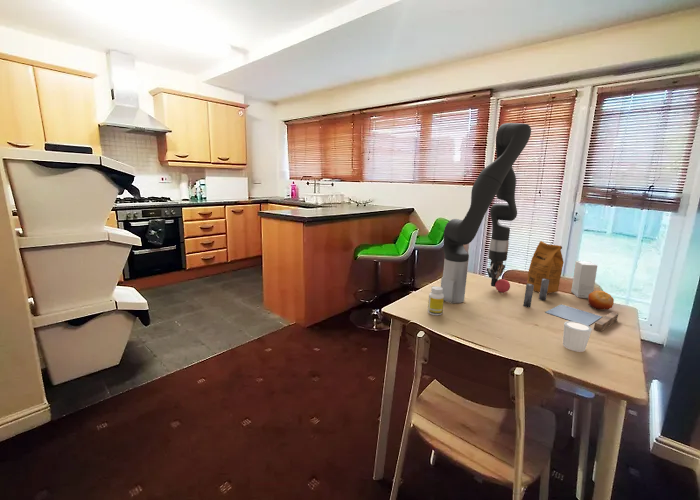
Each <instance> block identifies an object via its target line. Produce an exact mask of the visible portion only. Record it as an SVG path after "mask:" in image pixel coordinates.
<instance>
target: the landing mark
mask: <svg viewBox="0 0 700 500" xmlns="http://www.w3.org/2000/svg"><path fill="white" fill-rule="evenodd" d="M544 312H545V314H548V315H551V316H555V317H557V318H561V319H564V320H566V321H574V322H579V323H583V324H585V325H587V326H589V327H590V326H591V325H592V324H595V322H597V321H598V320H600V319H601V318H603V316H601V315H599V314H595V313H593V312H588V311H584V310H583V309H579V308H576V307H572V306H568V305H565V304H562V303H561V304H559V305H556V306H554V307H553V308H550V309H548V310H546V311H544Z"/></svg>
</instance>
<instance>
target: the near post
mask: <svg viewBox="0 0 700 500" xmlns="http://www.w3.org/2000/svg"><path fill="white" fill-rule="evenodd" d="M533 289H534V285H533V284H527V283H526V285H525V293H524V298H523V304H522V306H523V307H525V308H531V306H532V302H533V301H532V300H533V295H534V294H533V293H534V290H533Z"/></svg>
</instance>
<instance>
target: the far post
mask: <svg viewBox="0 0 700 500" xmlns="http://www.w3.org/2000/svg"><path fill="white" fill-rule="evenodd" d="M548 285H549V279H546V278H542V282H541V288H540V293H539V295H538V300H539V301H542V302H543V301H545V302H546V300H547V295H548V294H547V291H548Z"/></svg>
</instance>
